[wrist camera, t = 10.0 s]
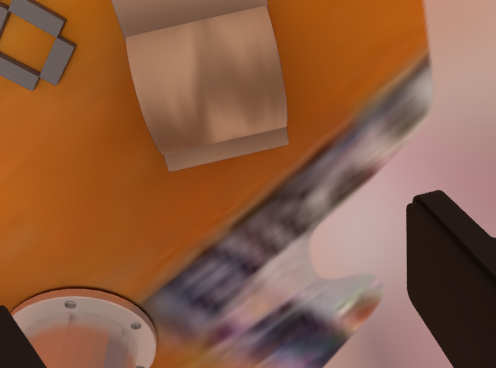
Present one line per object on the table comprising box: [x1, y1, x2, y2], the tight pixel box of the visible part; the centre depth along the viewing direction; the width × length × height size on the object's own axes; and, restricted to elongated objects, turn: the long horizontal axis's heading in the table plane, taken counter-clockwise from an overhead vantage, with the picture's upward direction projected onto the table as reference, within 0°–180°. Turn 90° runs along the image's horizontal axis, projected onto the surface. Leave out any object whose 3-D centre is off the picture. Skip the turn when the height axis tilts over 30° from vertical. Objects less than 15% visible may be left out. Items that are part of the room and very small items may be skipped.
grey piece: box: [0, 0, 76, 91], centre depth 24 cm, size 5×5×1 cm
